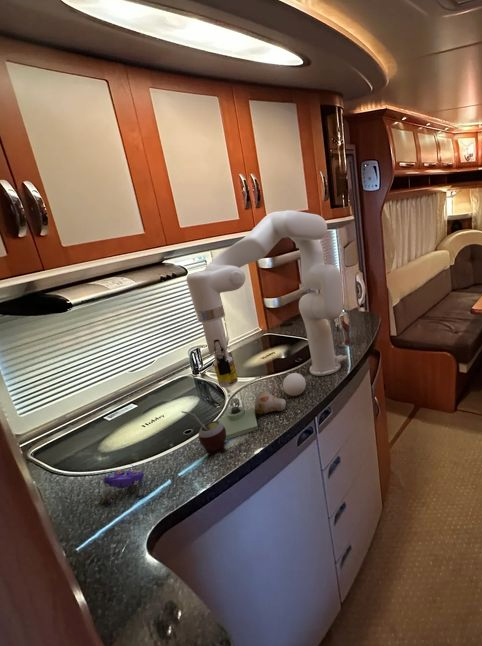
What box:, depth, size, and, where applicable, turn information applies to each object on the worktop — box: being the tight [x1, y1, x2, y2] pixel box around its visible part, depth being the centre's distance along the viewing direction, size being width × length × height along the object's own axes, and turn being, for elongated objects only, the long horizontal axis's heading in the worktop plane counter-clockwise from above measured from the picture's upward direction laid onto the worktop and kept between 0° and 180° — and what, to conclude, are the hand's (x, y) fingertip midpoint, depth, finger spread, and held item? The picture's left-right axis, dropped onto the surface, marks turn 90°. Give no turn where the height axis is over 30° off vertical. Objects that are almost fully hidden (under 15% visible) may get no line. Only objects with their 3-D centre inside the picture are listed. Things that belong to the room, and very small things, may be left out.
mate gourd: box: [181, 410, 227, 458], centre depth 105 cm, size 8×8×15 cm
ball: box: [282, 372, 307, 397], centre depth 132 cm, size 8×8×8 cm
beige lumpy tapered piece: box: [254, 391, 287, 415], centre depth 123 cm, size 8×10×10 cm
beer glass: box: [333, 311, 352, 348], centre depth 171 cm, size 7×7×15 cm
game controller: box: [98, 462, 145, 505], centre depth 95 cm, size 10×8×10 cm
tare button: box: [230, 405, 240, 414], centre depth 121 cm, size 2×2×2 cm
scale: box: [218, 406, 259, 441], centre depth 118 cm, size 11×13×3 cm
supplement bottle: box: [212, 350, 239, 388], centre depth 114 cm, size 6×6×10 cm
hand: (225, 369), depth 114 cm, fingers closed on supplement bottle, 5 cm apart
